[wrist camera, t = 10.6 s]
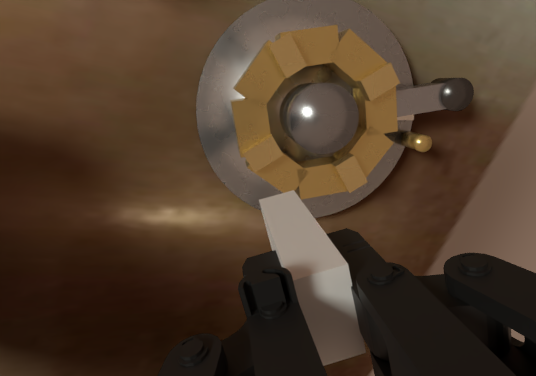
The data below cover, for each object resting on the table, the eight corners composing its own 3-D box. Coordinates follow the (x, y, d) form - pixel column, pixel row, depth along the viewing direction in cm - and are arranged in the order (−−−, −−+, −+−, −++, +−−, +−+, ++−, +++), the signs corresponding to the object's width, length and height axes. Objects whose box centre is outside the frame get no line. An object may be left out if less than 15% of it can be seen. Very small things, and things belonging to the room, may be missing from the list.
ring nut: (246, 199, 38) (250, 213, 34) (220, 44, 34) (221, 39, 30) (452, 162, 40) (479, 171, 36) (452, 11, 36) (482, 3, 32)
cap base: (230, 235, 42) (233, 267, 34) (167, 26, 35) (155, 12, 28) (416, 182, 43) (456, 202, 36) (389, -28, 36) (431, -55, 29)
